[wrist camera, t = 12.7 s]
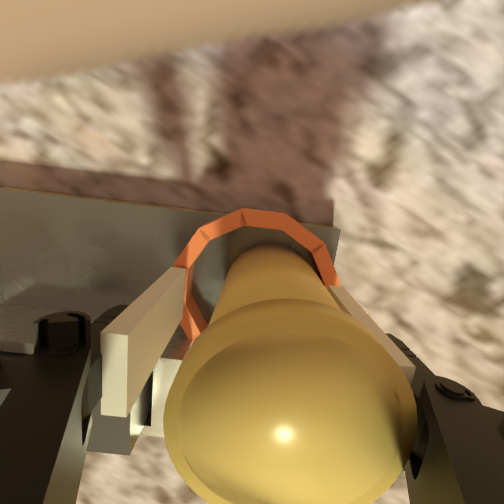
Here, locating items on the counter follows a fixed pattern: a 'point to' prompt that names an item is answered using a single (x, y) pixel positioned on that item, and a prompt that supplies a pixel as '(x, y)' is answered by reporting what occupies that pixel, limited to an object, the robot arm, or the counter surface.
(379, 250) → the counter surface
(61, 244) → the breaker panel
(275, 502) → the cap
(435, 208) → the counter surface
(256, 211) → the orange ring
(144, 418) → the block
